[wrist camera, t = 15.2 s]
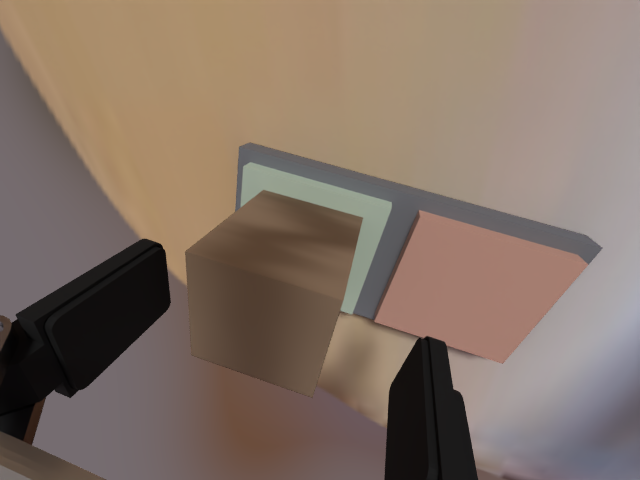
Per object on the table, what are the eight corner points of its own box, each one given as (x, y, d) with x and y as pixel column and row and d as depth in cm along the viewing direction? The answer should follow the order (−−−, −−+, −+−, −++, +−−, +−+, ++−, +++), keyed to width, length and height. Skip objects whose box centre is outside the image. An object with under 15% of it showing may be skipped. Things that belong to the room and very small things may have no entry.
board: (586, 235, 13) (614, 257, 12) (497, 345, 17) (508, 374, 16) (249, 142, 15) (231, 150, 13) (240, 263, 19) (225, 281, 17)
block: (363, 217, 13) (343, 300, 8) (339, 296, 16) (312, 397, 11) (263, 189, 14) (185, 251, 9) (255, 270, 16) (191, 355, 11)
